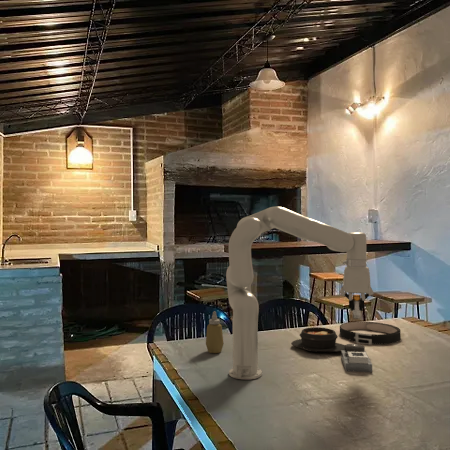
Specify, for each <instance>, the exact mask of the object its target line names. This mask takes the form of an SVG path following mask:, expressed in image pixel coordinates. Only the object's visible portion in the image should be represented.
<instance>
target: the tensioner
mask: <svg viewBox="0 0 450 450" xmlns="http://www.w3.org/2000/svg"><path fill="white" fill-rule="evenodd" d="M344 345H345V350H341V351H340V354H341V355H340V356H341V358H340V359H341V361H342V364H343V367H344V371H345V372H359V373H361V372H362V373H373V363H372V361H371V359H370V358H369V355H368V353H367V351H366V349H365V346H364V345H363V344H360V343H346V344H344Z"/></svg>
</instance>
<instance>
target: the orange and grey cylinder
mask: <svg viewBox="0 0 450 450" xmlns="http://www.w3.org/2000/svg"><path fill="white" fill-rule="evenodd" d="M352 299H353V311H352V318H353V319H357V320H358V319H359V320H360V319H361V317H362V314H361V312H362V311H361V303H360V301H361V294H352Z"/></svg>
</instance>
